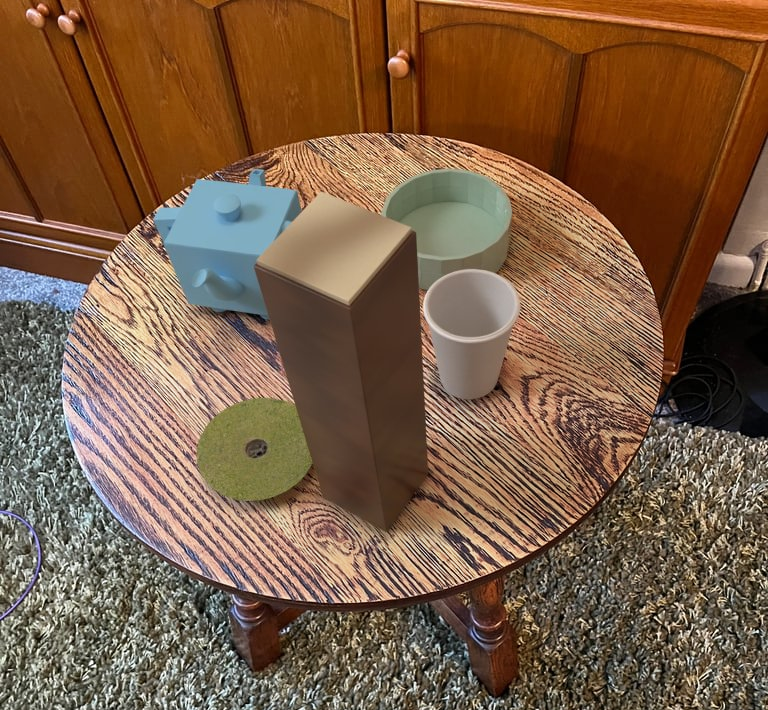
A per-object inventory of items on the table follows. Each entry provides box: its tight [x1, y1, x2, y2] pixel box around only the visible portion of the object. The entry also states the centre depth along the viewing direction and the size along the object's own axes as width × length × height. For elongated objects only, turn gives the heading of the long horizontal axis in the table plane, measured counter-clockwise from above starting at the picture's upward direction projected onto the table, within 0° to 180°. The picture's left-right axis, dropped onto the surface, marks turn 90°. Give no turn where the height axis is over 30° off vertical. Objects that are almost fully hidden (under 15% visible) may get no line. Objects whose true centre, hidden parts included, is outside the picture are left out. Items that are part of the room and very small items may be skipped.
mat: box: [195, 397, 313, 502], centre depth 72 cm, size 11×11×2 cm
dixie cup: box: [422, 269, 521, 400], centre depth 71 cm, size 8×8×10 cm
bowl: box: [380, 167, 513, 291], centre depth 82 cm, size 13×13×4 cm
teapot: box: [152, 168, 303, 320], centre depth 78 cm, size 16×18×11 cm
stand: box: [254, 191, 429, 533], centre depth 58 cm, size 7×7×28 cm
